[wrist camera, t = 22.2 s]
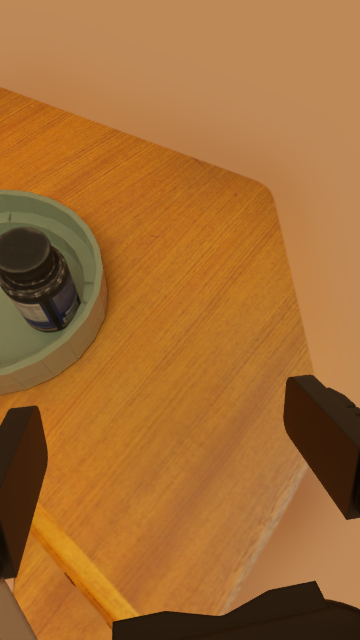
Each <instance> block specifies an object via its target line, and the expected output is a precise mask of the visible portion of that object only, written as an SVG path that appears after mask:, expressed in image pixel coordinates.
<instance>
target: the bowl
mask: <svg viewBox="0 0 360 640" xmlns="http://www.w3.org/2000/svg"><path fill="white" fill-rule="evenodd" d="M17 227H32V228H35V229H37V230H39V231H41V232H43V233H44V234H45V235H46V236H47V237H48V239H49V241H50V243H51V245H52V246H53V247H55V248H56V249H58V250H59V251H60V252H61V253H62V255H63V256H64V258H65V260H66V262H67V265H68V268H69V271H70V273H71V276H72V279H73V282H74V284H75V287H76V290H77V292H78V295H79V298H80V302H81V304H80V306H79V308H78V310H77V312H76V314H75V316H74V318H73V320H72V321H71V322H70V324H69V325H68V326H67V327H66V328H65V329H63V330H60V331H57V332H51V333H45V332H41V331H38V330H36V329H34V328H32V327H31V326H30V325H29V324H28V323H27V321H26V320H25V319H24V317H23V316H22V315H21V313H20V312H19V311H18V309H17V308H16V307H15V305H14V304H13V303H12V301H11V300H10V299H9V297H8V296H7V295H6V294H5V292H4V291H3V290H2V288H1V286H0V394H6V393H11V392H16V391H21V390H26V389H29V388H31V387H33V386H36V385H38V384H40V383H42V382H45V381H47V380H49V379H51V378H54V377H55V376H57V375H58V374H59V373H61V372H62V371H63V370H65V369H66V368H67V367H69V366H70V365H71V364H73V363H74V362H75V361H77V360H78V359H79V358H80V357H81V355H82V354H83V353H84V352H85V350H86V349H87V348H88V347H89V345H90V344H91V343H92V342H93V341H94V339H95V338H96V335H97V333H98V331H99V329H100V326H101V324H102V322H103V320H104V318H105V313H106V306H107V299H108V291H107V285H106V279H105V273H104V268H103V263H102V257H101V252H100V247H99V245H98V243H97V241H96V239H95V237H94V235H93V233H92V231H91V229H90V228H89V226H88V225H87V224H86V223H85V222H84V221H83V220H82V219H81V218H80V217H79V216H78V215H77V214H76V213H75V212H74V211H73V210H71V209H69V208H67V207H66V206H64V205H62V204H60V203H59V202H57V201H55V200H54V199H51V198H48V197H44V196H41V195H38V194H34V193H31V192H26V191H15V190H4V189H1V190H0V235H1V234H3V233H4V232H6V231H8V230H10V229H13V228H17Z"/></svg>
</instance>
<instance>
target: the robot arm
mask: <svg viewBox="0 0 360 640" xmlns="http://www.w3.org/2000/svg"><path fill="white" fill-rule="evenodd" d="M283 419H284V426H285V429H286V432H287V434H288V436H289V437H290V439H291V440H292V442H293V443H294V445H295V446H296V447H297V449H298V450H299V452H300V453H301V455H302V456H303V458H304V459H305V460H306V462H307V463H308V465H309V466H310V468H311V469H312V471H313V472H314V473H315V475H316V476H317V478H318V479H319V481H320V482H321V484H322V485H323V487H324V488H325V489H326V491H327V492H328V494H329V495H330V497H331V498H332V499H333V501H334V502H335V504H336V505H337V507H338V508H339V510H340V511H341V512H342V514H343V515H344V517H345V518H346V520H349V519H355V518H360V409H359V408H358V407H356V406H355V404H354V403H353V402H351V401H350V400H349V399H348V398H347V397H346V396H345V395H343V394H341V393H339V392H337V391H335V390H333V389H331V388H326V387H325V386H324V385H323V384H322V383H321V382H320V381H318V380H317V379H316V378H315V377H314V376H313V375H303V376H295V377H289V378H288V379H287V382H286V391H285V403H284V415H283ZM47 461H48V451H47V444H46V440H45V435H44V430H43V425H42V420H41V415H40V411H39V408H38V407H37V406H28V407H19V408H11V409H9V411H8V412H7V414H6V416H5V418H4V420H3V422H2V424H1V426H0V640H38V639H37V637H36V635H35V634H34V632H33V630H32V628H31V626H30V624H29V623H28V621H27V619H26V617H25V615H24V613H23V612H22V610H21V608H20V606H19V604H18V602H17V601H16V599H15V597H14V595H13V593H12V592H11V590H10V588H9V586H8V584H7V583H6V581H5V579H10V578H16V577H17V574H18V571H19V567H20V563H21V560H22V556H23V552H24V549H25V545H26V541H27V538H28V534H29V530H30V527H31V523H32V520H33V516H34V512H35V509H36V505H37V501H38V498H39V494H40V490H41V487H42V483H43V479H44V476H45V472H46V468H47ZM112 640H360V609H358V608H356V607H353V606H351V605H348V604H345V603H342V602H337V601H333V600H326V599H324V597H323V595H322V593H321V591H320V589H319V587H318V585H317V583H316V581H312V582H307V583H302V584H297V585H292V586H287V587H282V588H278V589H272V590H268V591H266V592H265V593H263V594H261V595H259V596H258V597H256V598H254V599H252V600H251V601H249V602H247V603H245V604H243V605H242V606H240V607H238V608H236V609H235V610H233V611H231V612H229V613H227V614H225V615H222V616H212V615H201V614H191V613H181V612H170V611H163V612H158V613H153V614H148V615H144V616H139V617H134V618H129V619H124V620H119V621H114V622H113V629H112Z"/></svg>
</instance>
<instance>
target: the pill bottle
mask: <svg viewBox="0 0 360 640" xmlns="http://www.w3.org/2000/svg"><path fill="white" fill-rule="evenodd" d="M0 286H1V288H2V290H3V291H4V292H5V294H6V295H7V296H8V297H9V299H10V300H11V301H12V303H13V304H14V305H15V307H16V308H17V309H18V311H19V312H20V313H21V315H22V316H23V317H24V319H25V320H26V321H27V323H28V324H29V325H30V326H31V327H32V328H34V329H36V330H38V331H41V332H45V333H51V332H57V331H60V330H63V329H65V328H66V327H67V326H68V325H69V324H70V322H71V321H72V320H73V318H74V316H75V314H76V312H77V310H78V308H79V306H80V304H81V302H80V298H79V295H78V292H77V290H76V287H75V284H74V282H73V279H72V276H71V273H70V271H69V268H68V265H67V262H66V260H65V258H64V256H63V255H62V253H61V252H60V251H59V250H58V249H56V248H55V247H53V246H52V245H51V243H50V241H49V239H48V237H47V236H46V235H45V234H44V233H43V232H41V231H39V230H37V229H35V228H32V227H17V228H13V229H10V230H8V231H6V232H4V233H3V234H1V235H0Z"/></svg>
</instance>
